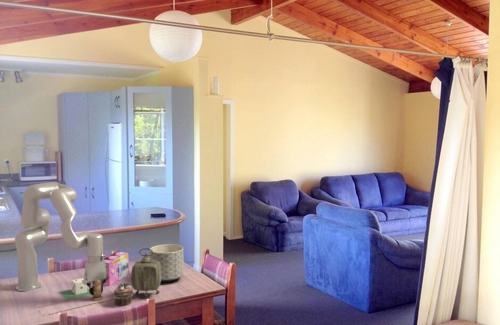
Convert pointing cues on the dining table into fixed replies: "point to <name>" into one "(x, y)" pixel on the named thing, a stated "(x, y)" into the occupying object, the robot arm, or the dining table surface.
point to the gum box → (116, 267)
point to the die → (78, 286)
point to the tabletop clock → (146, 274)
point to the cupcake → (123, 295)
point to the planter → (169, 260)
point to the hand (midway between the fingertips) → (96, 293)
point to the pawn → (97, 291)
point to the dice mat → (73, 294)
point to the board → (76, 307)
